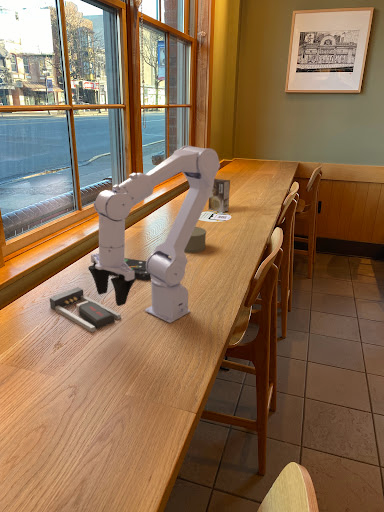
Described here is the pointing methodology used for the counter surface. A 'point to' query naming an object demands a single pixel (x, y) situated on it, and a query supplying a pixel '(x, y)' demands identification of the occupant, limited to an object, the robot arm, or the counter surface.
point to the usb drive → (95, 314)
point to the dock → (72, 297)
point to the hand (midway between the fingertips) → (111, 298)
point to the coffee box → (219, 196)
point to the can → (196, 241)
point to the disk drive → (136, 269)
